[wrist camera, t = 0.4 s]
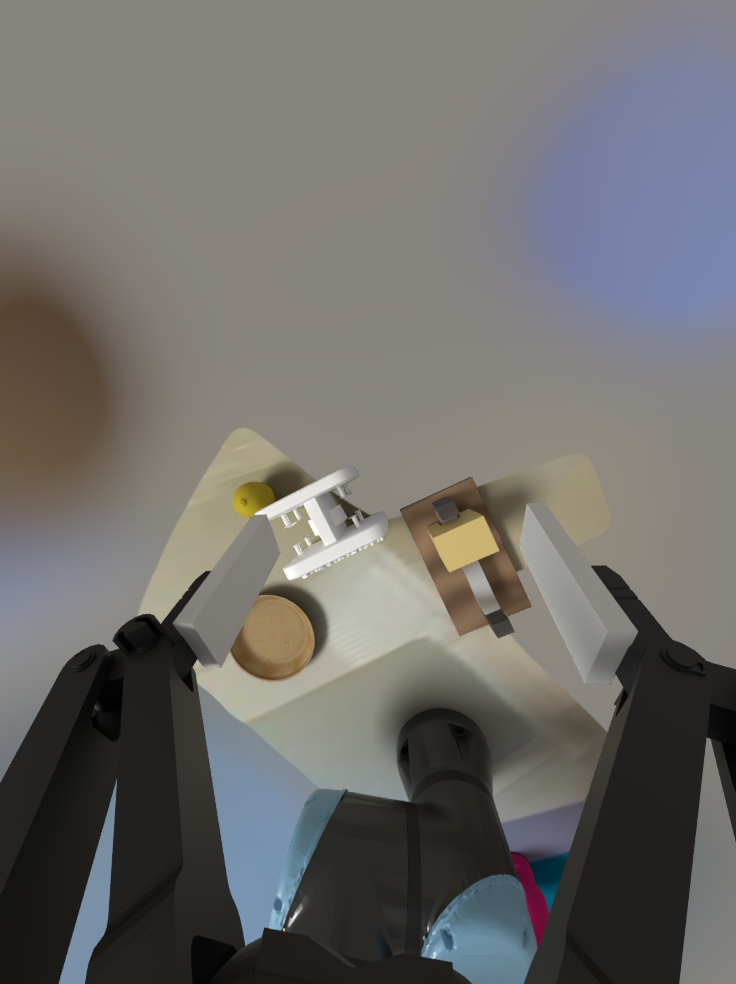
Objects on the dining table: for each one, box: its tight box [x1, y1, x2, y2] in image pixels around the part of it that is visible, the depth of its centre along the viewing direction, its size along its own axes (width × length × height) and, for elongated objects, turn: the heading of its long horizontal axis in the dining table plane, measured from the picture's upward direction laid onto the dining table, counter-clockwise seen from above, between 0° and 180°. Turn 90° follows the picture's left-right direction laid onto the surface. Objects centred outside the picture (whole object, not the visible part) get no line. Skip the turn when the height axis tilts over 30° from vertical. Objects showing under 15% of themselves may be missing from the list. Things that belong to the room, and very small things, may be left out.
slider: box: [427, 509, 500, 572], centre depth 42 cm, size 5×7×7 cm
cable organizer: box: [254, 467, 388, 580], centre depth 43 cm, size 15×11×12 cm
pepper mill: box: [511, 853, 549, 949], centre depth 41 cm, size 7×7×20 cm
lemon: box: [233, 482, 275, 518], centre depth 45 cm, size 6×6×8 cm
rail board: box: [400, 477, 531, 638], centre depth 44 cm, size 22×12×7 cm, turn 25°
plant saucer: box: [229, 595, 315, 682], centre depth 50 cm, size 15×15×3 cm
